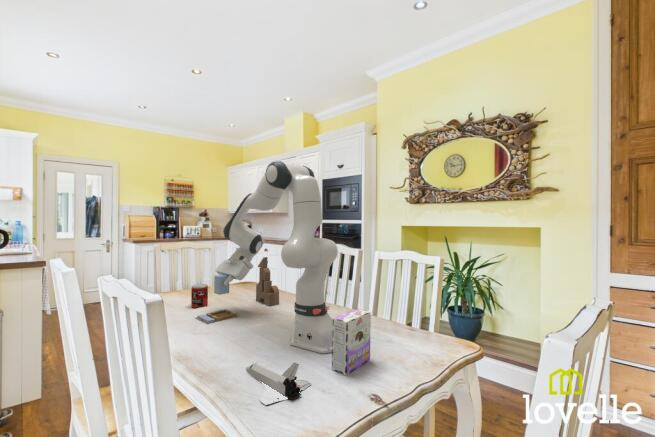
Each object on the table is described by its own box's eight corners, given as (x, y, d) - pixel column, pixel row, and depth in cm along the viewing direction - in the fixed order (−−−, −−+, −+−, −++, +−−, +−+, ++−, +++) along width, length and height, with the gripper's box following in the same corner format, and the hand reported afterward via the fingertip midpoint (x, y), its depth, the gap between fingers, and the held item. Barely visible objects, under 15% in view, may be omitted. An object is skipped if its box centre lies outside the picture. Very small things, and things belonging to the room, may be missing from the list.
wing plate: (214, 321, 144) (214, 319, 144) (208, 323, 142) (208, 320, 142) (203, 316, 151) (203, 314, 151) (197, 317, 148) (197, 315, 148)
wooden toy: (279, 304, 177) (280, 257, 177) (269, 306, 173) (269, 258, 173) (264, 298, 189) (265, 255, 189) (254, 300, 184) (254, 255, 184)
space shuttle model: (267, 362, 109) (267, 332, 109) (319, 391, 91) (320, 355, 91) (224, 378, 98) (224, 345, 98) (273, 415, 80) (274, 374, 80)
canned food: (188, 308, 168) (188, 286, 168) (198, 304, 176) (198, 283, 176) (200, 309, 166) (200, 287, 166) (210, 305, 174) (210, 284, 173)
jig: (240, 318, 152) (240, 313, 152) (206, 327, 140) (206, 321, 140) (226, 313, 160) (226, 308, 160) (194, 320, 148) (194, 315, 148)
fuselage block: (229, 292, 152) (229, 275, 152) (219, 294, 148) (219, 277, 148) (224, 291, 155) (224, 274, 155) (214, 293, 151) (214, 275, 151)
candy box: (356, 355, 114) (356, 308, 114) (370, 360, 110) (371, 311, 110) (331, 369, 103) (331, 317, 103) (346, 375, 99) (347, 321, 99)
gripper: (224, 254, 163) (205, 276, 156) (247, 258, 149) (227, 282, 142) (232, 262, 167) (213, 284, 160) (255, 267, 153) (236, 291, 146)
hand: (220, 283), depth 151 cm, fingers closed on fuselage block, 4 cm apart
